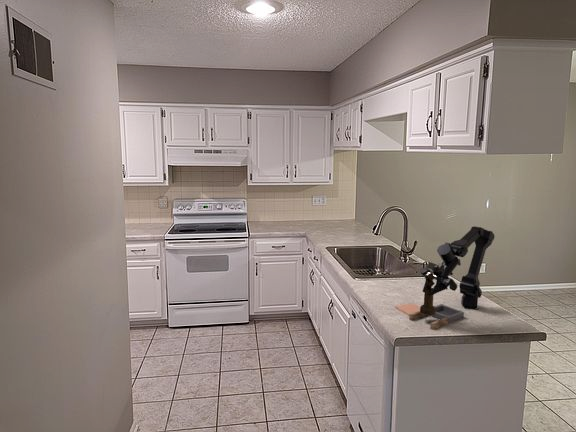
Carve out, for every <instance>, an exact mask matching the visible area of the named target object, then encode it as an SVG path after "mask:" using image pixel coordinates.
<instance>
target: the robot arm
mask: <svg viewBox="0 0 576 432" xmlns="http://www.w3.org/2000/svg"><path fill="white" fill-rule="evenodd" d="M494 240H495V234H494V232H493V231H492V230H488V229H486V228H483V227H481V226H471V228H470V229H469V231H468V232H467V233H465V234H464V235H463V236H462V237H461V238H460V239H458V240H454V241H452V242H451V243H450V242H445V243H444V244H440V245H439V246H437V249H436V252H437V254H438V255H439V257H440V258H441V260H442V262H441V263H437V264H436V263H433V262H431V261H428V264H427V266H426V267H422V268H420V270H419V273H420V274H421V275H422V276H423V277H424V279H425V281H424V285H423V288H422V293H425V288H427V287H428V286H427V283H428V279H427V275H428V274H433V276H434V279H433V280H432V288H433V289H432V290H431V292H430V293H429V295H430V296H431V295H433V296H434V295H436V294H437V293H440V292H443V291H446V290H448V289H449V290H450V291H451V290H452V291H454V292H456V290H457V289H458V284H457V283H456V282H455V280H454V279H452V278H450V276H453V275H454V273H453V272H454V270H455V269H456V267H457V266H459V267H460V266H461V264H462V263H461V259H460V258H464V257H466V255H467V254H468V252H469V250H468V249H469V247H470V246H472V245H473V243H474V244H475V248H474V251H473V255H472V258H471V261H470V264H469V268H468V271H467V273H466V275H463V276H462V277H461V280H460V282H459V294H462V296H461V300H460V304H461V306H462V307H463V308H464V309H466V308H477V307H478V301H479V300H478V299H479V298H481V297H482V294H483V291H482V289H481V287H480V285H481V282H480V279H479V274H480V271H481V268H482V264H483V262H484V258H485V254H486V250H487V249H488V248H489V247H490V246H491V245H492V244H493V241H494ZM458 257H459V258H458ZM434 280H435V281H434Z"/></svg>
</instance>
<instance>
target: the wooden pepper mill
mask: <svg viewBox="0 0 576 432" xmlns="http://www.w3.org/2000/svg"><path fill="white" fill-rule="evenodd" d="M433 274H434V273H432V274H428V275H427V279H428V283H427V286H428V287H427V288H425V292H424V293H423V294H424V297H423V304H422V305H421V306H419V307H420V312H421V313H423V314H426V316H429V315H434V314H435V313H436V308H435V307H434V306H435V305H434V295H431V296H430V295H429V293H430V292H431V290H432V289H433V288H434V287H433V286H432V280H433V279H434V276H433ZM434 280H435V279H434ZM434 280H433V281H434Z"/></svg>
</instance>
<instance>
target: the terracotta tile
mask: <svg viewBox="0 0 576 432" xmlns="http://www.w3.org/2000/svg"><path fill="white" fill-rule="evenodd" d="M420 307H421V306H419V305H417V304H415V303H412V302H411V303H406V304H399V305H395V306H394V309H396V310H399V311H400V312H402V313H404V314H405V315H407V316H410V314H412V313H415V312H418V311H420Z"/></svg>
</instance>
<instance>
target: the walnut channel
mask: <svg viewBox="0 0 576 432" xmlns="http://www.w3.org/2000/svg"><path fill="white" fill-rule="evenodd" d="M408 316H409V315H408ZM425 316H427V315H426V314H423V313H421V312H420V311H418V312H415V313H412V314H410V316H409V318H408V319H409V321H414V320H417V319H421V318H423V317H425ZM447 323H448V318H443V319H440V320H439V319H437V320H435V321H432V322H430V327H429V329H431V330H435V329H437V327H438V328H440V327H443V326H446V325H448V324H449V323H448V324H447ZM445 324H446V325H445ZM442 325H443V326H442Z"/></svg>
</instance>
